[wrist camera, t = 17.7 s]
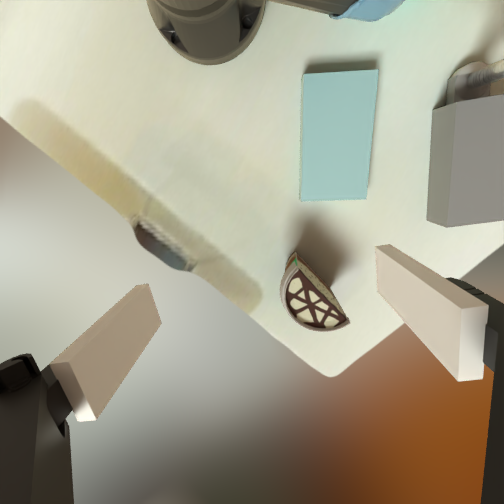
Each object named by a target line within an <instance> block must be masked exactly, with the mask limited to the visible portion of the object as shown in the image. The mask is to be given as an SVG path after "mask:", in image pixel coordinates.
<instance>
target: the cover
mask: <svg viewBox="0 0 504 504" xmlns="http://www.w3.org/2000/svg"><path fill="white" fill-rule="evenodd" d="M378 72H379V69H376V70H360V71H344V72H328V73H312V74H303V77H302V79H301V125H300V183H299V200H300V201H329V200H361V199H366V196H367V186H368V175H369V165H370V155H371V144H372V134H373V124H374V113H375V103H376V93H377V83H378Z"/></svg>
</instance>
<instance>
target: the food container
mask: <svg viewBox="0 0 504 504" xmlns="http://www.w3.org/2000/svg"><path fill="white" fill-rule="evenodd" d="M280 297H281V301H282V304H283V306H284V308H285V310H286V311H287V313H288V315H289V316H290V317H291V318H292V319H293V320H294V321H295V322H296V323H298V324H299V325H301V326H303V327H305V328H307V329H309V330H313V331H320V332H328V331H334V330H338V329H341V328H343V327H345V326H347V325H349V324H350V321H349V318H348V317H347V316H346V315H345V313H344V311H343V309H342V308H341V306H340V304H339V303H338V301H337V299H336V297H335V296H334V294H333V292H332V290H331V289H330V287H329V286H328V285H327V284H326V283H325V282H324V281H323V280H322V279H321V278H320V277H319V276H318V275H317V274H316V272H315V271H314V270H313V269H312V268H311V267H310V266H309V265H308V264H307V263H306V262H305V261H304V260H303V259H302V258H301V257H300V256H299V255H298V254H297V253H296V251H295V252H294V253H293V254H292V255H291V256H290V258H289V260H288V262H287V263H286V269H285V273H284V275H283V277H282V280H281V284H280Z"/></svg>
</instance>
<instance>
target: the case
mask: <svg viewBox="0 0 504 504" xmlns="http://www.w3.org/2000/svg"><path fill="white" fill-rule="evenodd" d="M487 66H488V65H487V64H485V63H483V62H479V61H477V62H472V63H470V64H468V65H466V66H464V67H462V68H460V69H458V70H457V71H456V72H455V73H454V74H453V75H452V76H451V78H450V79H448V87H447V101H446V106H443V107H440V108H437V109H434V110H433V112H432V130H431V149H430V167H429V186H428V204H427V221H430V222H432V223H435V224H438V225H441V226H444V227H455V226H463V225H471V224H479V223H487V222H495V221H502V220H504V94H501V95H495V96H489V93H490V84H491V83H490V84H487V85H484V86H482V87H479V88H476V89H471V88H469V87H468V85H467V80H468V77H469V76H470V75H471V74H472V73H473V72H475V71H478V70H480V69H482V68H484V67H487Z"/></svg>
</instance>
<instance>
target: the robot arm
mask: <svg viewBox="0 0 504 504" xmlns="http://www.w3.org/2000/svg"><path fill="white" fill-rule="evenodd" d="M268 1H272V2H277V3H281V4H285V5H290V6H294V7H299V8H303V9H307V10H312V11H316V12H320V13H325V14H329V17H330V18H333V19H342V18H349V19H355V20H361V21H368V22H371V21H377V20H379V19H381V18H383V17H384V16H386V15H389V14H390V13H392V12H393V11H394V10H396V9H397V8H398V7H399V6H400V5H401V4H402V3H403V2H404V1H405V0H268ZM147 4H148V8H149V11H150V13H151V16H152V18H153V20H154V23H155V25H156V26H157V28H158V30H159V31H160V33H161V34H162V36H163V37H164V38H165V39H166V41H167V42H168V43H169V44H170V46H171V47H172V48H173V49H174V50H175V51H176V52H177V53H179V54H180V55H181V56H183V57H184V58H186V59H188V60H190V61H192V62H195V63H198V64H203V65H217V64H222V63H225V62H227V61H230V60H232V59H234V58H235V57H237V56H238V55H239V54H241V53H242V52H243V51H244V50H245V49H246V48H247V47H248V46H249V44H250V43H251V42H252V40H253V39H254V37H255V35H256V33H257V31H258V29H259V27H260V24H261V21H262V18H263V14H264V9H265V0H147ZM375 256H376V273H377V291H378V293H379V294H380V295H381V296H382V297H383V299H384V300H385V301H386V302H387V303H388V304H389V305H390V306H391V307H392V309H393V310H394V311H395V312H396V313H397V314H398V315H399V316H400V317H401V319H402V320H403V321H404V322H405V323H406V324H407V325H408V326H409V327H410V329H411V330H412V331H413V332H414V333H415V334H416V335H417V336H418V337H419V338H420V340H421V341H422V342H423V343H424V344H425V345H426V346H427V347H428V349H429V350H430V351H431V352H432V353H433V354H434V355H435V356H436V357H437V359H438V360H439V361H440V362H441V363H442V364H443V365H444V366H445V367H446V368H447V370H448V371H449V372H450V373H451V374H452V375H453V376H454V377H455V379H456V380H457V381H467V380H476V379H483V370H484V364H486V365H487V366H488V367H489V368H490V369H491V370H492V371H493V372H494V380H493V390H492V400H491V409H490V419H489V428H488V438H487V448H486V457H485V468H484V477H483V487H482V497H481V504H504V304H503V303H501V302H500V301H498V300H496V299H494V298H493V297H491V296H489V295H487V294H484V292H482V291H480V290H479V289H476V288H475V287H473V286H472V285H470V284H468V283H466V282H464V281H461V280H458V279H454V278H444V277H442V276H440V275H439V274H437V273H435V272H434V271H432V270H431V269H429V268H427V267H426V266H424V265H422V264H421V263H419V262H418V261H416V260H414V259H413V258H411V257H410V256H408V255H406V254H405V253H403V252H401V251H400V250H398V249H397V248H395V247H393V246H392V245H390V244H388V245H382V246H375ZM160 325H161V320H160V317H159V314H158V311H157V308H156V305H155V302H154V299H153V296H152V293H151V290H150V287H149V284H143V285H137V286H135V287H134V288H133V289H132V290H131V291H130V292H129V293H128V294H126V296H124V297H123V298H122V299H121V300H120V301H119V302H118V303H116V304H115V305H114V306H113V307H112V308H111V309H110V310H109V311H108V312H106V313H105V314H104V315H103V316H102V317H101V318H100V319H99V320H98V321H96V322H95V323H94V324H93V325H92V326H91V327H90V328H89V329H88V330H87V331H86V332H84V333H83V334H82V335H81V336H80V337H79V338H78V339H76V340H75V341H74V342H73V343H72V344H71V345H70V346H69V347H68V348H66V350H64V351H63V352H62V353H61V354H60V355H59V356H58V357H56V358H55V359H54V361H52V362H51V363H50V364H49V365H48V366H47V367H45V368H44V369H43V370H42V371H41V372H40V370H39V368H38V366H37V364H36V362H35V360H34V358H33V357H32V355H31V354H22V355H19V356H16V357H13V358H11V359H9V360H7V361H5V362H3V363H1V364H0V504H74V497H73V481H72V465H71V448H70V432H69V425H68V423H67V421H66V417H67V416H68V415H69V414H70V412H71V411H72V410H73V412H74V414H75V416H76V418H77V420H78V422H82V421H91V420H97V418H98V417H99V415H100V414H101V413H102V411H103V410H104V408H105V406H106V405H107V404H108V402H109V400H110V399H111V398H112V396H113V395H114V393H115V392H116V390H117V389H118V387H119V386H120V384H121V383H122V381H123V380H124V378H125V377H126V375H127V374H128V372H129V371H130V370H131V368H132V366H133V365H134V364H135V362H136V360H137V359H138V357H139V356H140V355H141V353H142V352H143V350H144V349H145V347H146V346H147V344H148V343H149V341H150V340H151V338H152V337H153V335H154V334H155V332H156V331H157V329H158V328H159V327H160Z"/></svg>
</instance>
